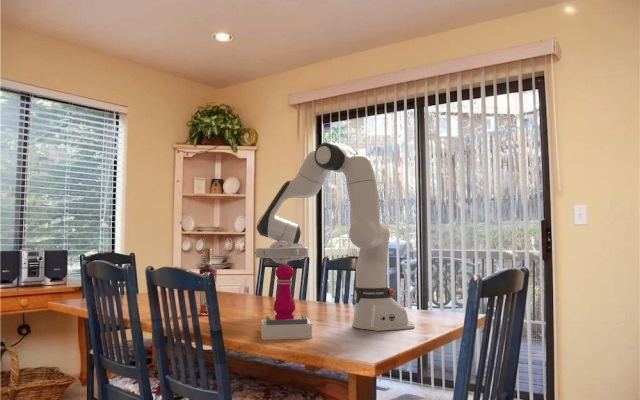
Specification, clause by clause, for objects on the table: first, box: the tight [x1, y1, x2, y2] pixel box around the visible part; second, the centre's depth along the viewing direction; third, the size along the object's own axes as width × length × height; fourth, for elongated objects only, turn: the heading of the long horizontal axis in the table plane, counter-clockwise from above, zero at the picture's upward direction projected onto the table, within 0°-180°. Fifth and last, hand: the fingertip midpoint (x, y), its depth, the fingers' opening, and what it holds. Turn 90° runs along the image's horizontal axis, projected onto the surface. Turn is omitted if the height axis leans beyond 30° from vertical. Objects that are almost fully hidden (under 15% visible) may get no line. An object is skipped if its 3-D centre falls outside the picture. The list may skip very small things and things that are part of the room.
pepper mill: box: [273, 260, 296, 320], centre depth 159 cm, size 7×7×20 cm
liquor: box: [198, 248, 218, 314], centre depth 203 cm, size 7×7×28 cm
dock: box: [260, 314, 313, 341], centre depth 159 cm, size 16×14×6 cm
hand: (282, 252), depth 177 cm, fingers open, 8 cm apart
